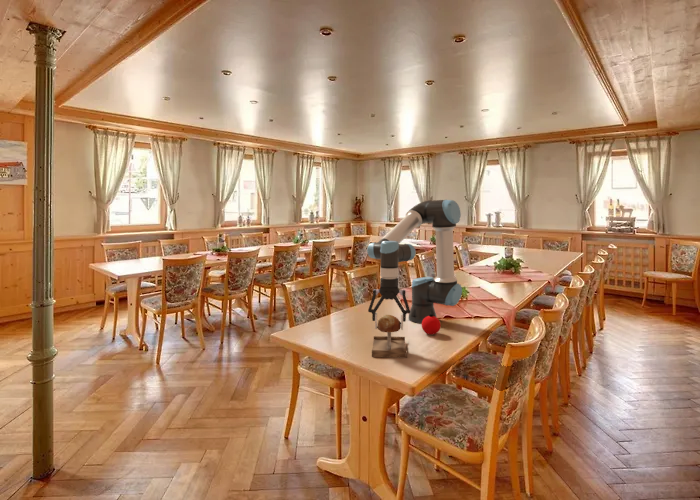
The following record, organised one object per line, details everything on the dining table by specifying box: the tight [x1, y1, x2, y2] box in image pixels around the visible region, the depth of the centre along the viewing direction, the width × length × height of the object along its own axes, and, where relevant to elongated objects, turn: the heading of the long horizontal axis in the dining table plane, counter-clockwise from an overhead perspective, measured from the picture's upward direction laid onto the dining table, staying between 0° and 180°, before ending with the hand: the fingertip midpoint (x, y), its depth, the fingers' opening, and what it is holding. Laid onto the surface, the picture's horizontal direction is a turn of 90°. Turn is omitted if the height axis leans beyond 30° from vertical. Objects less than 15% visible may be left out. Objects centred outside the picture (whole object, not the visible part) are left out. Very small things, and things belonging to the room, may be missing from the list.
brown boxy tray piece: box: [371, 332, 407, 358], centre depth 165 cm, size 14×18×8 cm
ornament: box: [421, 314, 442, 336], centre depth 184 cm, size 9×9×10 cm
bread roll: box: [377, 314, 401, 333], centre depth 164 cm, size 10×10×8 cm
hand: (388, 328), depth 164 cm, fingers closed on bread roll, 10 cm apart
